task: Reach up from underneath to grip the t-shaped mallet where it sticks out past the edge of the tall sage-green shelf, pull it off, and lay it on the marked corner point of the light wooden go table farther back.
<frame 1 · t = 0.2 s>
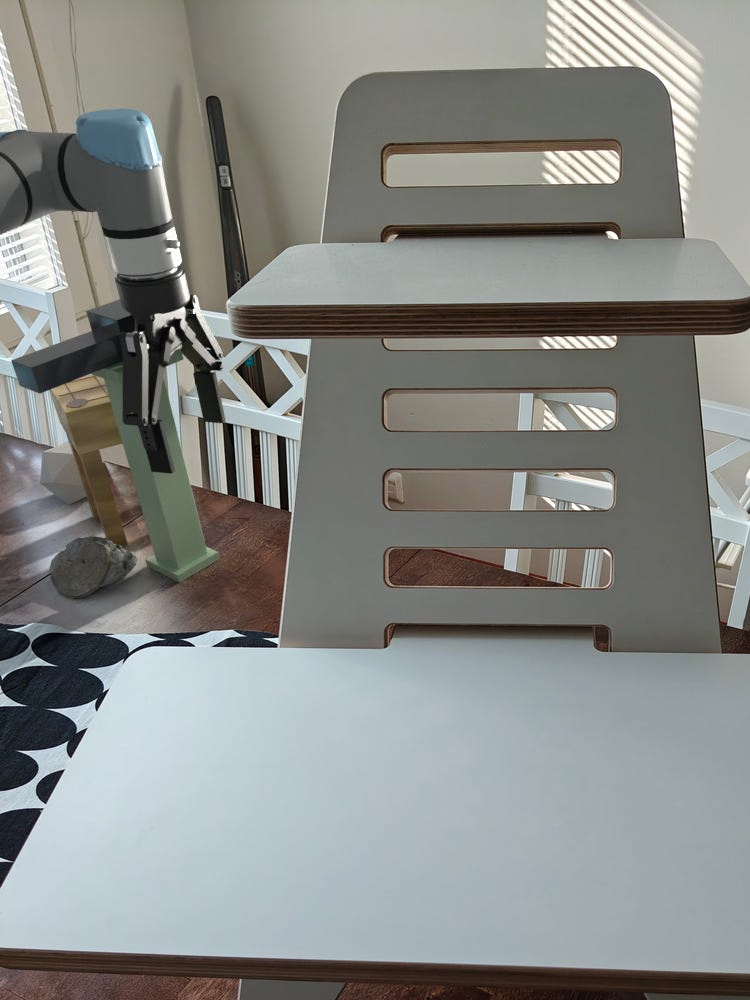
hand: (190, 445, 121), 19 cm above the table, tool pointing down, fingers open, 13 cm apart
go table: (140, 520, 145), on the table
shelf stand: (183, 563, 135), on the table
die: (79, 496, 152), on the table
grey rough chunk: (98, 578, 133), on the table
t-shaped mallet: (91, 366, 114), point 30 cm above the table, touching shelf stand
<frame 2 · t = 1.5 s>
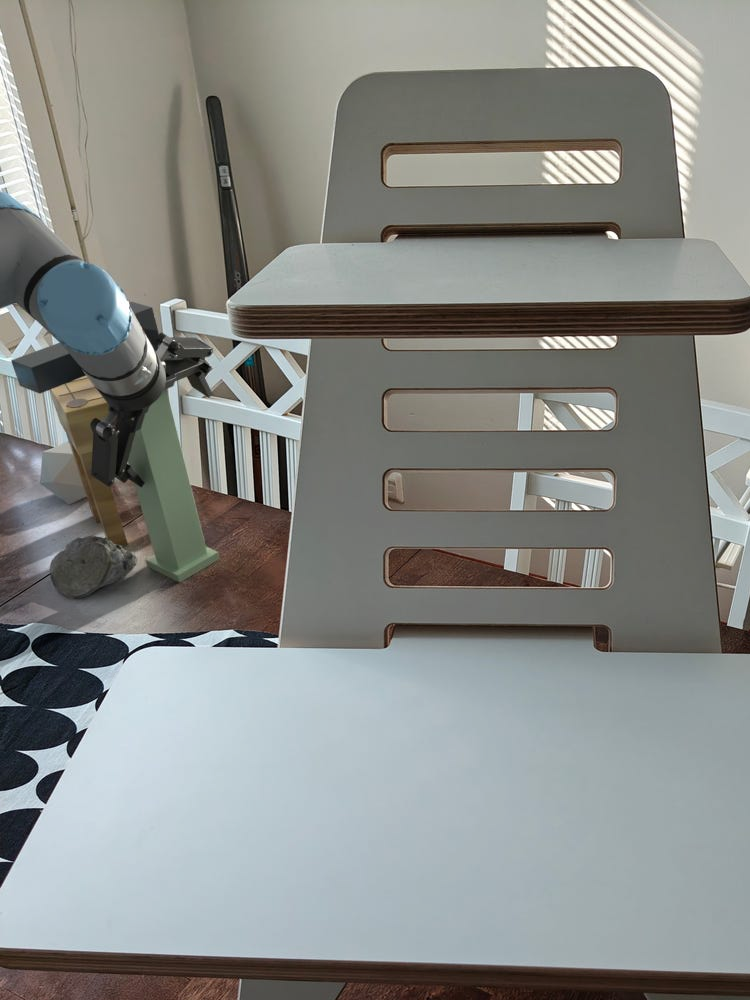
hand: (169, 435, 126), 18 cm above the table, tool tilted 45°, fingers open, 14 cm apart
nothing on the table moved.
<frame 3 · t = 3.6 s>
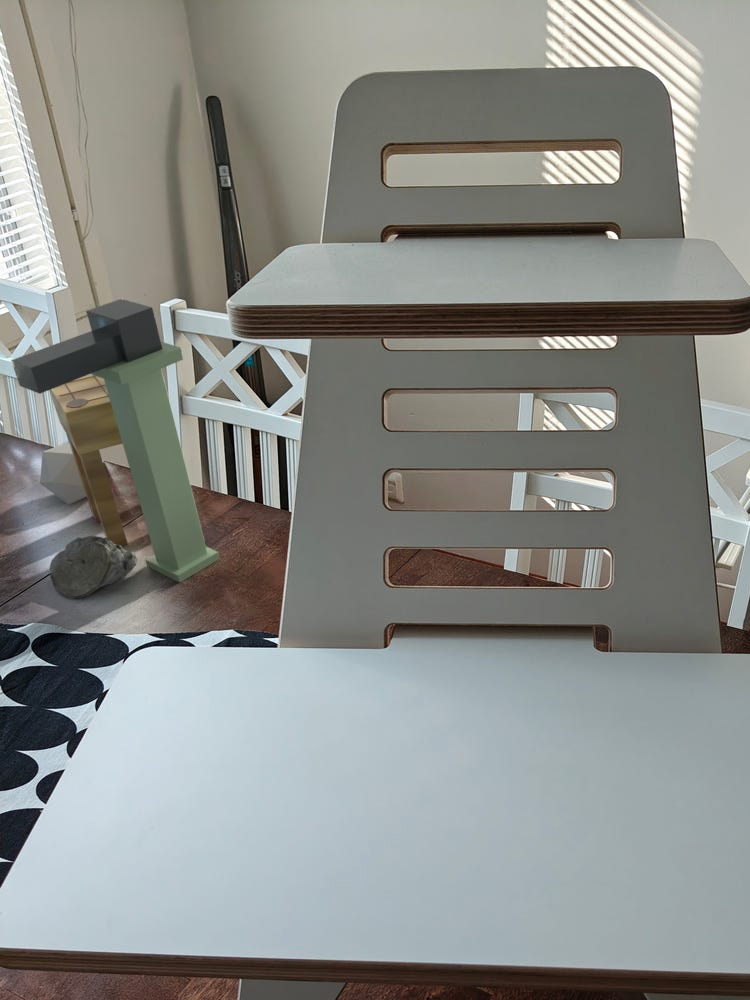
nothing on the table moved.
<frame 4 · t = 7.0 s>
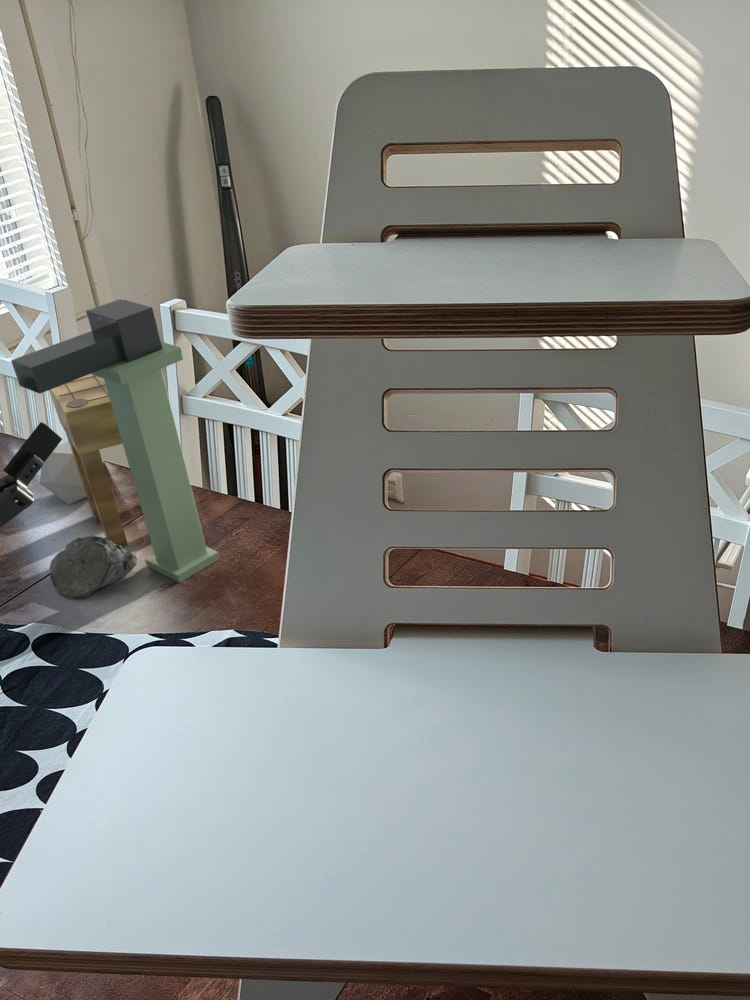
hand: (17, 415, 108), 28 cm above the table, tool pointing upward, fingers open, 13 cm apart
nothing on the table moved.
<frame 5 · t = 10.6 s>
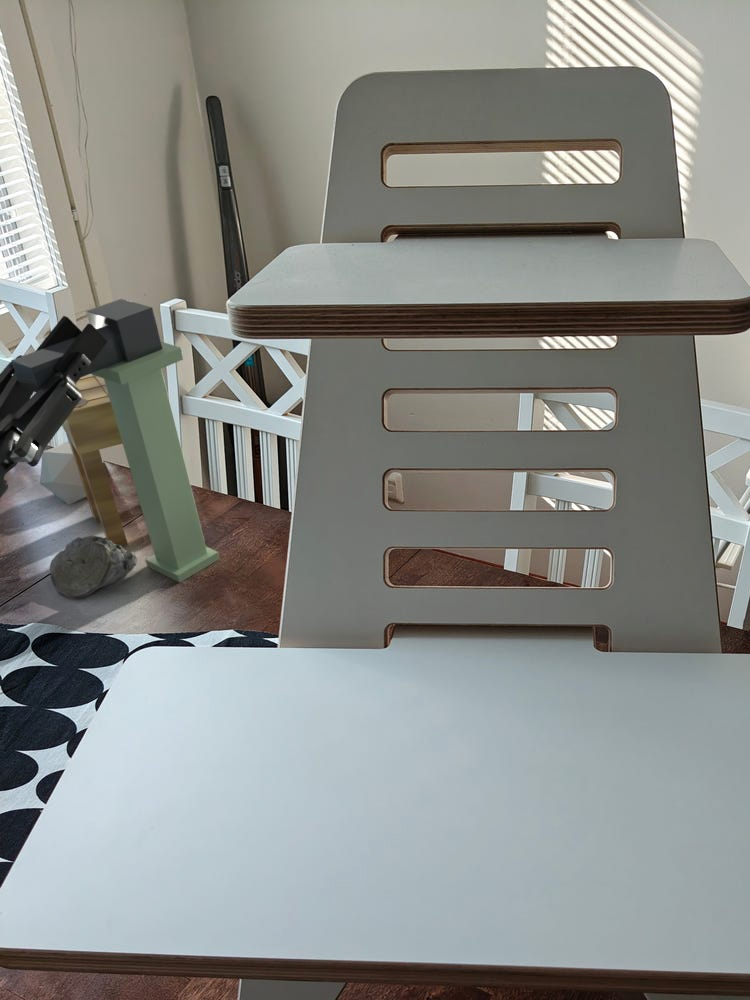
hand: (85, 328, 111), 34 cm above the table, tool pointing upward, fingers closed on t-shaped mallet, 4 cm apart
t-shaped mallet: (91, 366, 114), point 30 cm above the table, touching gripper, shelf stand
everything else where it was.
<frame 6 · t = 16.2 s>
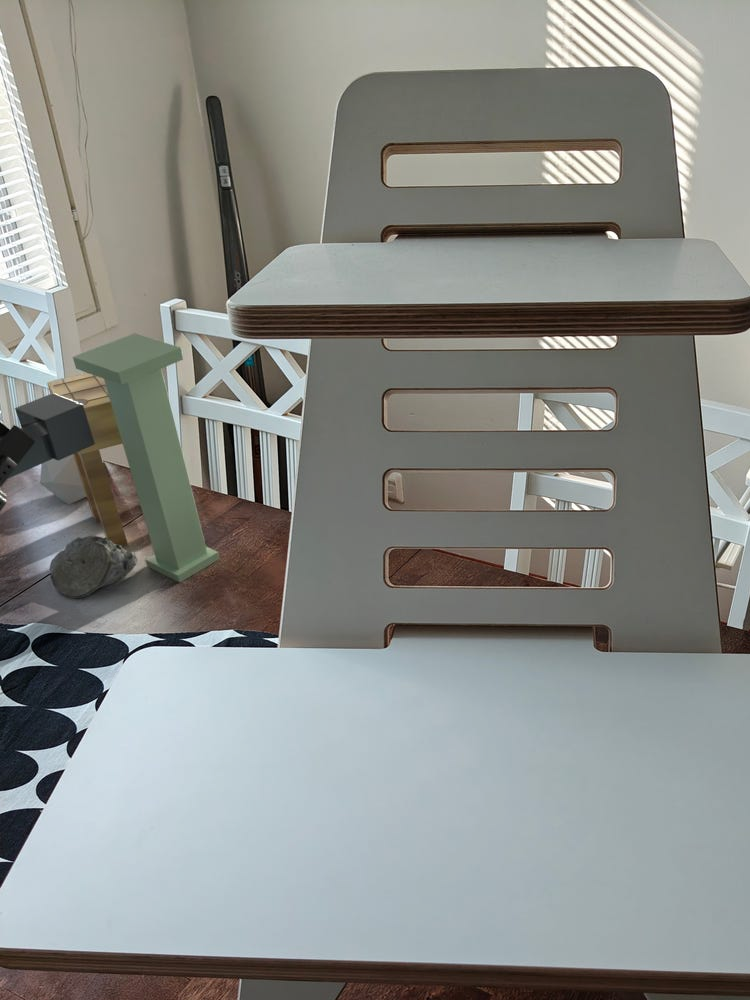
hand: (12, 428, 109), 27 cm above the table, tool pointing upward, fingers closed on t-shaped mallet, 4 cm apart
t-shaped mallet: (19, 464, 111), point 22 cm above the table, touching gripper
everything else where it was.
when the fingers open (25 cm above the table, at t = 22.0 s): t-shaped mallet stays where it is, resting on go table.
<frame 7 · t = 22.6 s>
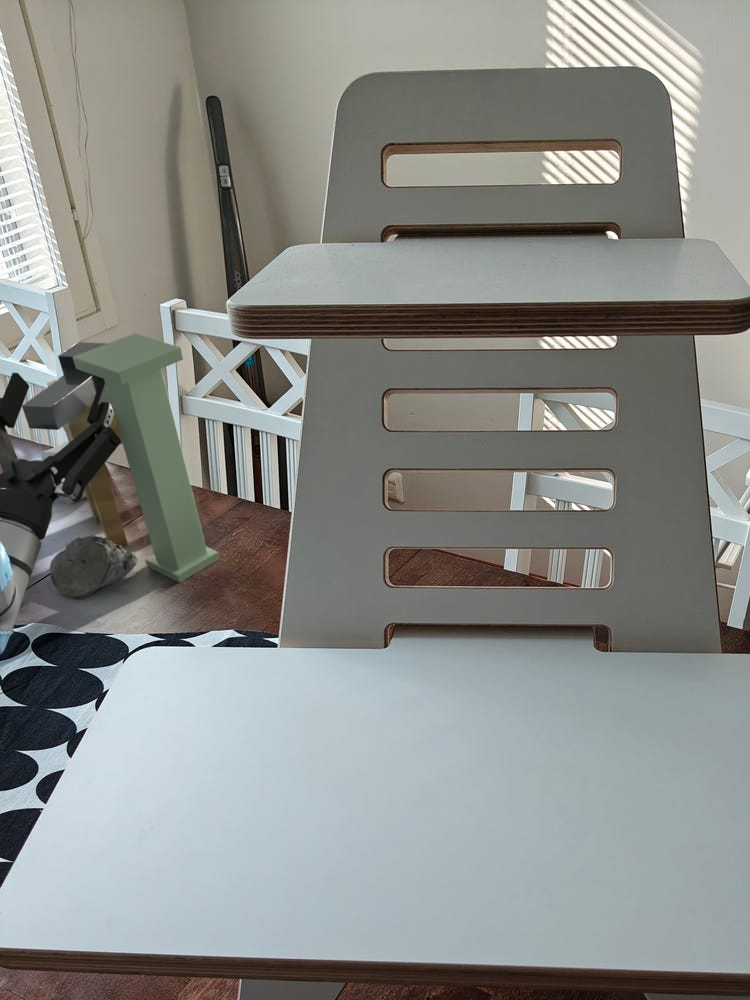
hand: (65, 381, 125), 24 cm above the table, tool pointing upward, fingers open, 12 cm apart
t-shaped mallet: (77, 402, 127), point 21 cm above the table, touching go table
everything else where it was.
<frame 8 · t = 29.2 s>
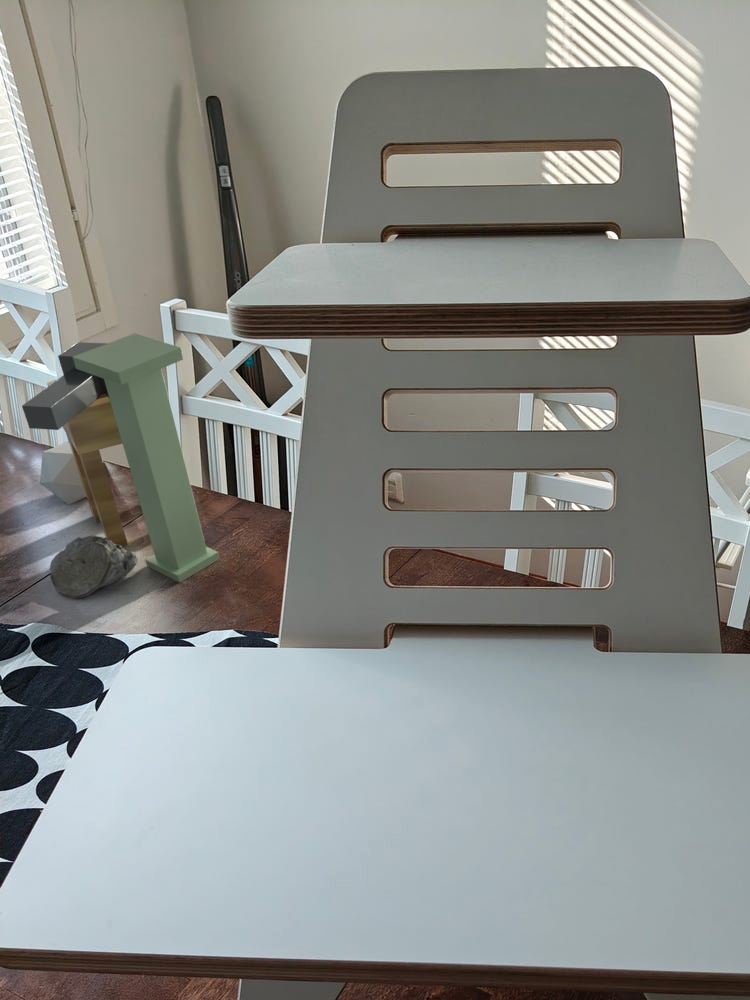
nothing on the table moved.
at the end: t-shaped mallet 0.0 cm from the target spot on the go table, point 21.1 cm above the go table's base; the gripper is holding nothing; t-shaped mallet tilted 0° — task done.
